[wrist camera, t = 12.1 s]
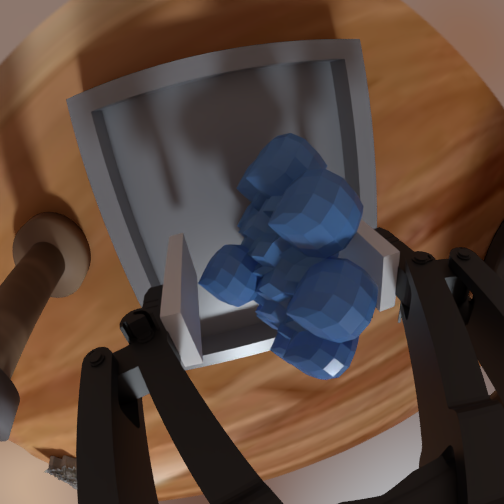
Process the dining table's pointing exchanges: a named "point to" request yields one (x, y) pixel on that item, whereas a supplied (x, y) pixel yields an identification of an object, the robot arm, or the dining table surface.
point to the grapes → (298, 258)
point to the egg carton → (64, 469)
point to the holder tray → (217, 157)
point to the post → (35, 292)
